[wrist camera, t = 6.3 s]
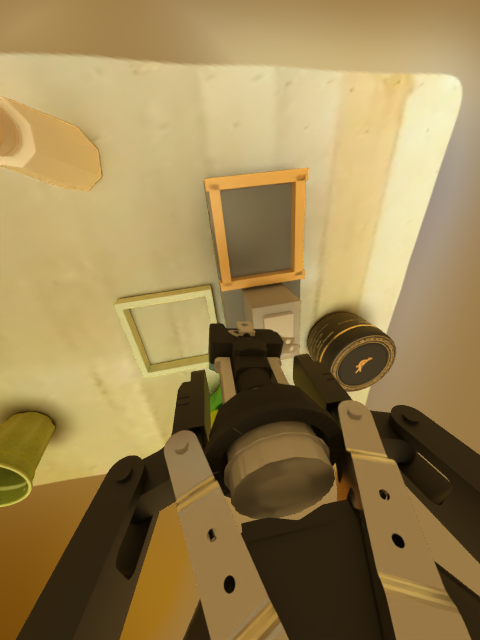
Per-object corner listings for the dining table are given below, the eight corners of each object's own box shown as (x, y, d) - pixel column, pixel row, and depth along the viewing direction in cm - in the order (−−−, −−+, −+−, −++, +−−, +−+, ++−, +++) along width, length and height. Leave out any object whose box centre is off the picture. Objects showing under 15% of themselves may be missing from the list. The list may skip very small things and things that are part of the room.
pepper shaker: (81, 113, 19) (-38, 18, 10) (114, 183, 22) (47, 164, 12) (22, 131, 19) (-158, 54, 9) (62, 199, 22) (-47, 193, 12)
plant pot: (-15, 433, 33) (-79, 500, 25) (7, 393, 31) (-56, 454, 23) (53, 449, 37) (15, 512, 29) (78, 415, 34) (43, 474, 27)
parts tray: (146, 370, 33) (143, 378, 31) (118, 299, 27) (113, 304, 26) (222, 355, 34) (224, 363, 32) (210, 284, 28) (211, 289, 27)
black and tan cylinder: (298, 307, 16) (421, 428, 7) (284, 367, 18) (363, 517, 9) (205, 303, 15) (206, 443, 6) (203, 367, 17) (201, 540, 8)
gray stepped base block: (228, 340, 33) (237, 383, 25) (203, 182, 23) (206, 169, 15) (292, 329, 34) (321, 366, 26) (293, 173, 24) (340, 155, 16)
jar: (296, 360, 37) (318, 394, 30) (313, 306, 32) (343, 331, 26) (348, 361, 39) (379, 393, 32) (370, 310, 35) (411, 335, 28)
